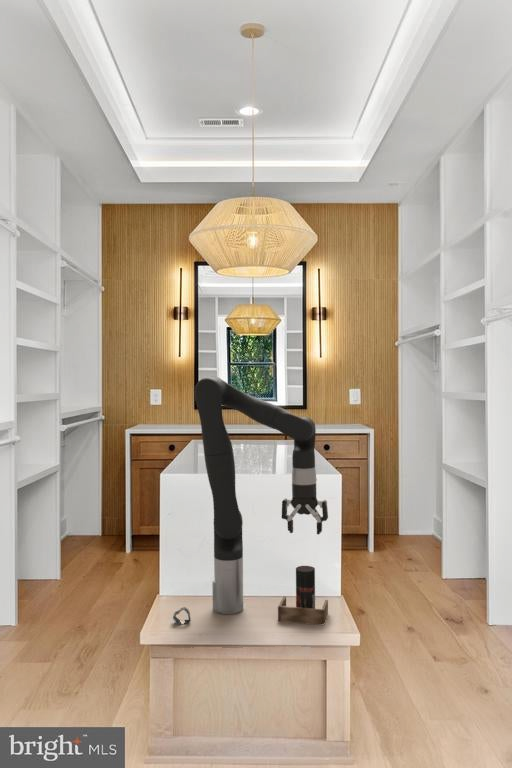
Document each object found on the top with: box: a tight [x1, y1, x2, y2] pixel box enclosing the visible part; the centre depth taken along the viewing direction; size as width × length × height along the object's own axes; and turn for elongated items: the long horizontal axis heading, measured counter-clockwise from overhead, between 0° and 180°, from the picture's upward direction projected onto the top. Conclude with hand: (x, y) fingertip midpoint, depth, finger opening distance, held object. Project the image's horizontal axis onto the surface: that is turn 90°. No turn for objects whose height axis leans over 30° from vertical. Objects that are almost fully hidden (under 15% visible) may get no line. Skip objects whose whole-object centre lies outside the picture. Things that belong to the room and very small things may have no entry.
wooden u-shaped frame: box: [277, 595, 329, 625], centre depth 206 cm, size 14×9×4 cm, turn 76°
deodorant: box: [295, 565, 316, 609], centre depth 207 cm, size 6×6×15 cm
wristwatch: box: [172, 606, 192, 625], centre depth 202 cm, size 3×5×5 cm
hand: (305, 533), depth 206 cm, fingers open, 8 cm apart
